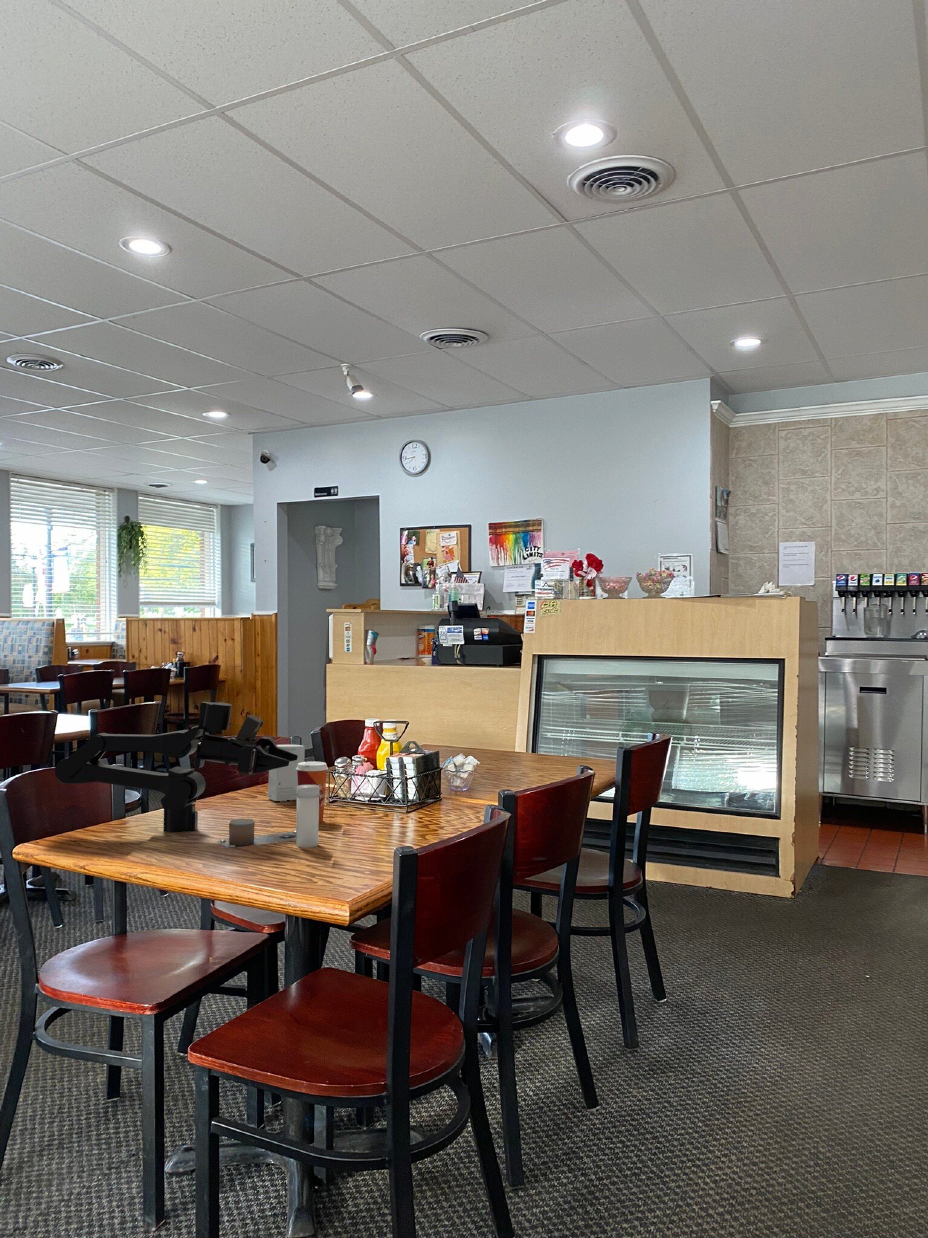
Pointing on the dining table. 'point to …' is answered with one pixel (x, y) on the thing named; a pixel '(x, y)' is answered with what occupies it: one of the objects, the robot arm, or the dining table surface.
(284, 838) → the plate
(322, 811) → the paper cup
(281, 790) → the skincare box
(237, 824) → the grey short cylinder
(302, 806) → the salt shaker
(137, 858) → the dining table surface
